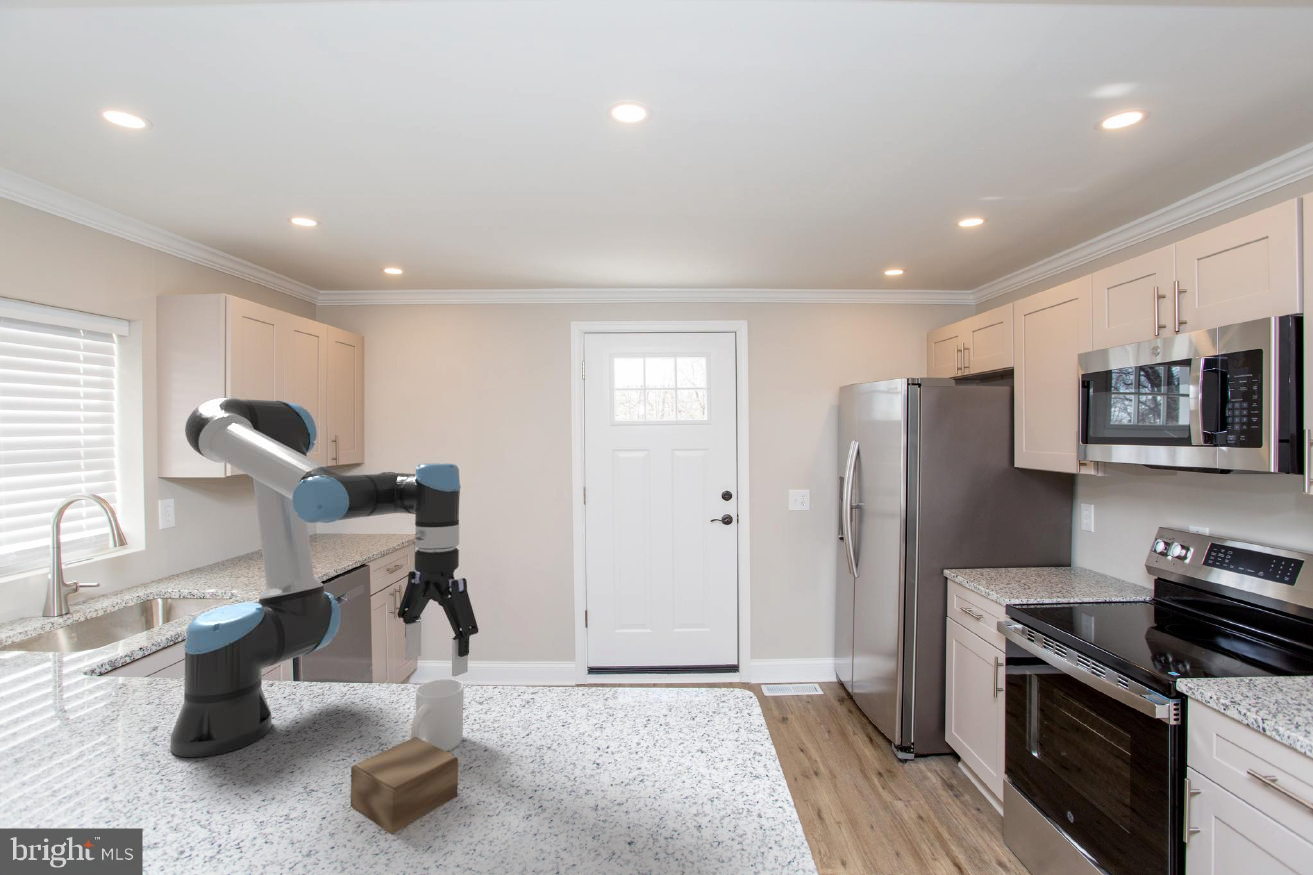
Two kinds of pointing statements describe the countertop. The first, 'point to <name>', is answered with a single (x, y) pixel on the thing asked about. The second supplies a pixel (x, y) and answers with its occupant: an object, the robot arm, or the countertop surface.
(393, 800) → the walnut block
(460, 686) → the mug
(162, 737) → the countertop surface
